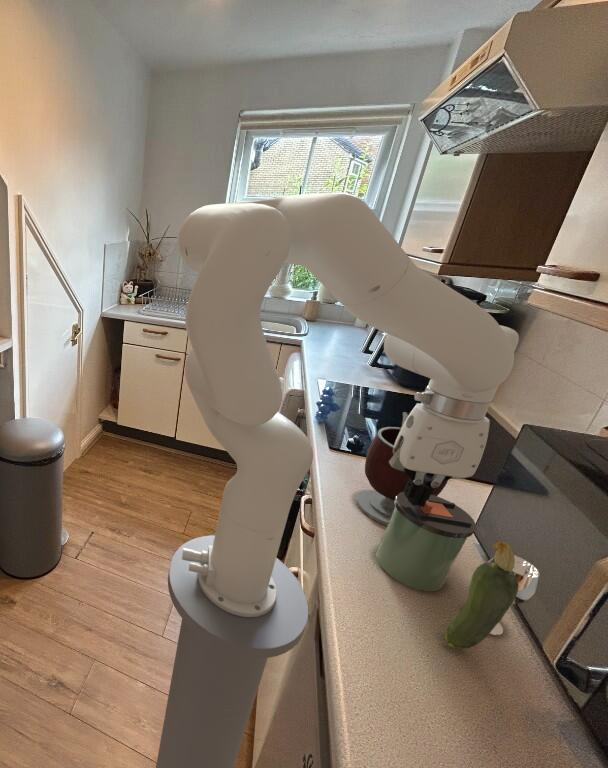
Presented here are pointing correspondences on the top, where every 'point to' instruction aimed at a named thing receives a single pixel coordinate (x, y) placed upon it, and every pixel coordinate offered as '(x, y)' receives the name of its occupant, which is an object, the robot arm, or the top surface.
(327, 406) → the grapes
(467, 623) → the vegetable
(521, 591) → the wineglass
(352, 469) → the top surface
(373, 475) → the mate gourd
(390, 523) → the travel mug
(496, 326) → the robot arm
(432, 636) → the top surface
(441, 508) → the shutter
